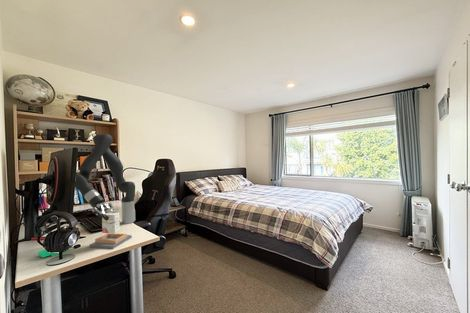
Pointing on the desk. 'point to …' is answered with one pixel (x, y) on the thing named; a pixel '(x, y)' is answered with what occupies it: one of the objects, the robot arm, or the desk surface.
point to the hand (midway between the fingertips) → (111, 218)
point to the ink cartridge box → (111, 221)
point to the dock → (110, 240)
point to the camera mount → (45, 253)
